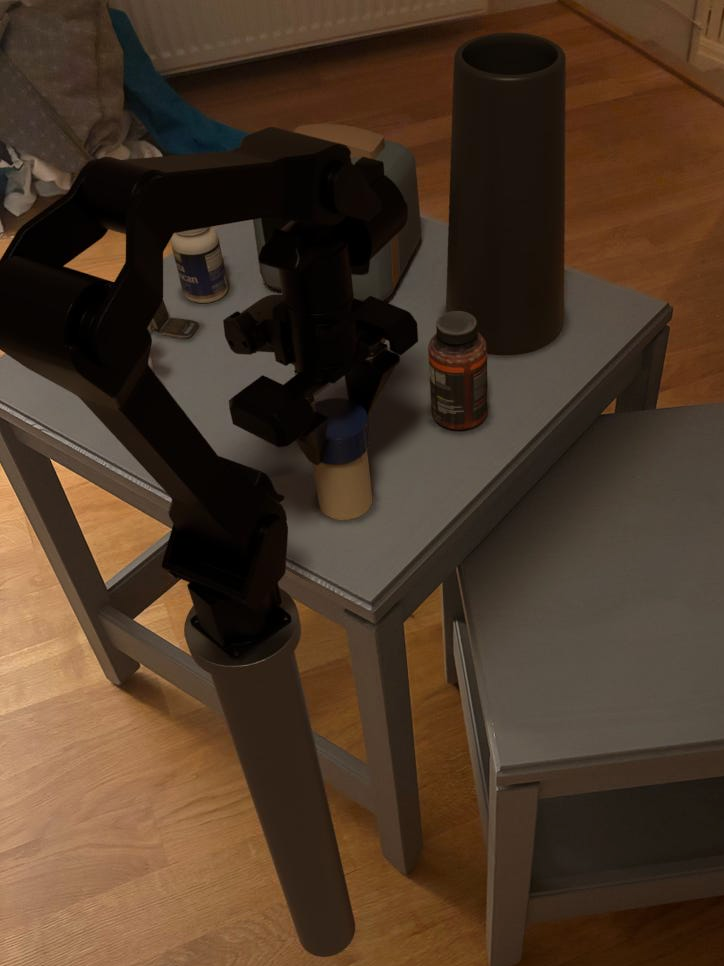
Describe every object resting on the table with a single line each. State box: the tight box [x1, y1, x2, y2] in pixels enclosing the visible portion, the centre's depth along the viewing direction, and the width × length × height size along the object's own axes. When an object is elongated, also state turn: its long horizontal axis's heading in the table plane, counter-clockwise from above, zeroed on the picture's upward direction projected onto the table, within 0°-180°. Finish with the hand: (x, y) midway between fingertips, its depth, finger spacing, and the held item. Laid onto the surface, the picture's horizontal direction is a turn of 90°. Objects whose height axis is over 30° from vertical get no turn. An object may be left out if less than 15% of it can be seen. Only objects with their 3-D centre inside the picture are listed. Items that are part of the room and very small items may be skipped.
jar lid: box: [315, 397, 372, 465], centre depth 95 cm, size 6×6×3 cm
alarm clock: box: [252, 123, 422, 302], centre depth 122 cm, size 16×16×16 cm
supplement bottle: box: [427, 311, 489, 431], centre depth 106 cm, size 6×6×11 cm
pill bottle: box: [170, 227, 229, 304], centre depth 121 cm, size 5×5×10 cm
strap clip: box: [150, 299, 200, 339], centre depth 118 cm, size 8×3×4 cm, turn 75°
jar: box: [311, 450, 373, 521], centre depth 98 cm, size 5×5×10 cm
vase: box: [445, 31, 567, 356], centre depth 110 cm, size 14×14×29 cm
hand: (337, 444), depth 96 cm, fingers open, 6 cm apart
